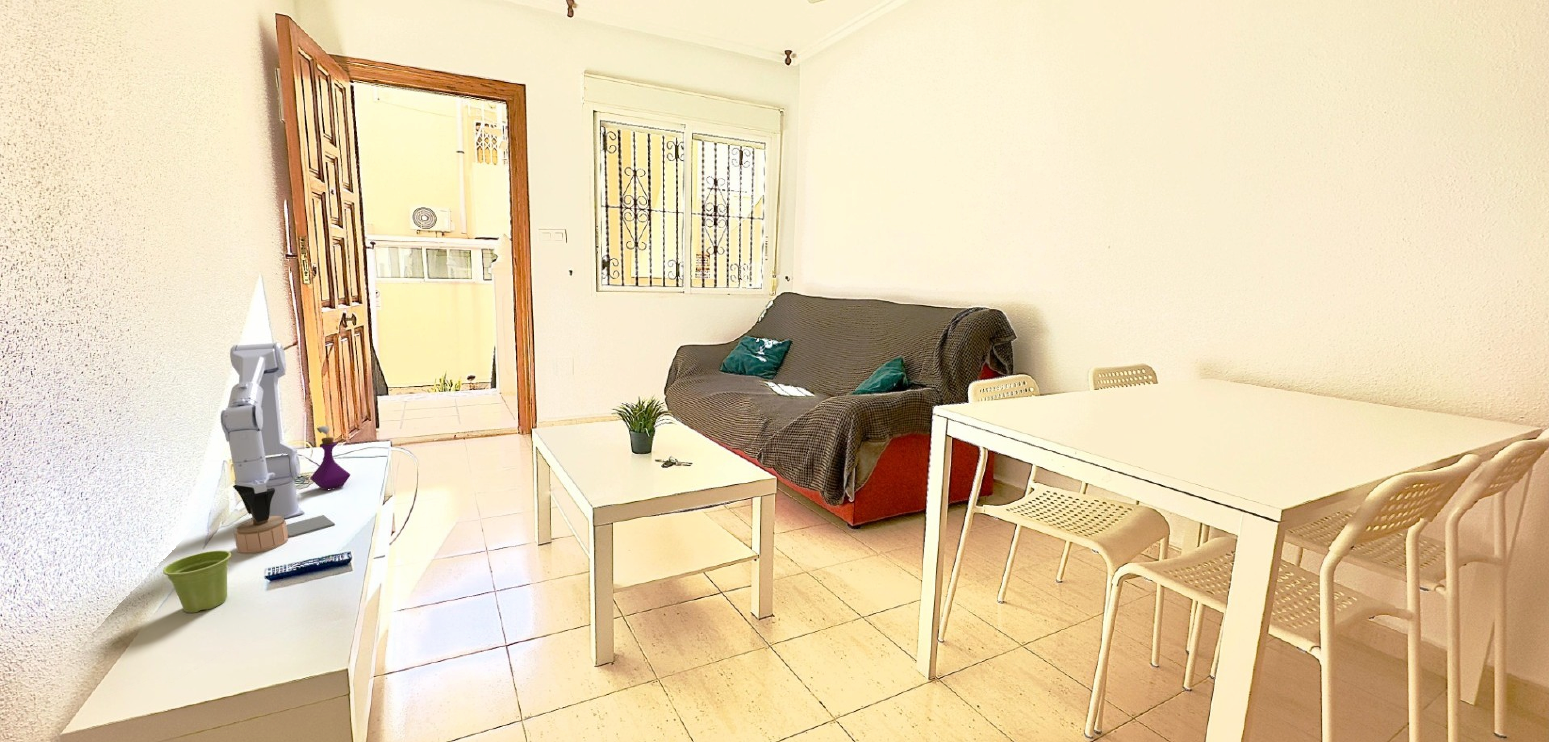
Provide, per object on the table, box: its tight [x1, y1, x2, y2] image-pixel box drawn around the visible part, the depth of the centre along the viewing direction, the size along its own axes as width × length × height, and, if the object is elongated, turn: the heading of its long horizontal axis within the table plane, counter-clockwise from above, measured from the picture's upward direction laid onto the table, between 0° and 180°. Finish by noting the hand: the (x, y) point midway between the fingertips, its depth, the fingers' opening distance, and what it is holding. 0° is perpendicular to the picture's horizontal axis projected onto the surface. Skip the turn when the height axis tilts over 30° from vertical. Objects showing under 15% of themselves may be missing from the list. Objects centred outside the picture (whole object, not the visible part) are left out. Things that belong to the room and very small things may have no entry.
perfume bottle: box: [309, 425, 351, 491], centre depth 183 cm, size 8×8×18 cm
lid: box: [236, 510, 285, 534], centre depth 145 cm, size 8×8×5 cm
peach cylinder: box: [233, 519, 289, 555], centre depth 145 cm, size 9×9×4 cm
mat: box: [286, 514, 336, 538], centre depth 156 cm, size 9×9×1 cm
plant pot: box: [162, 549, 232, 614], centre depth 119 cm, size 9×9×9 cm
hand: (258, 516), depth 144 cm, fingers open, 7 cm apart
